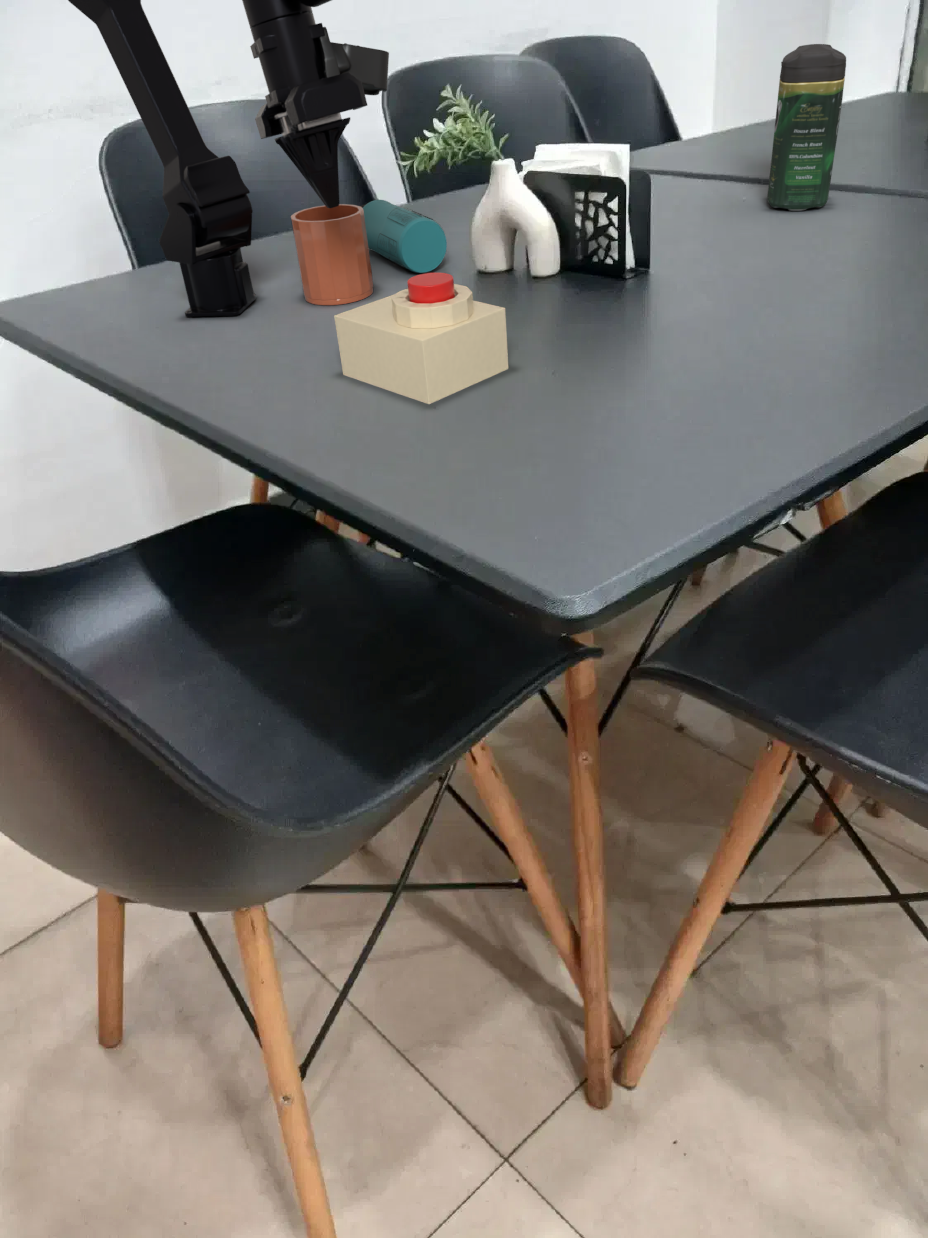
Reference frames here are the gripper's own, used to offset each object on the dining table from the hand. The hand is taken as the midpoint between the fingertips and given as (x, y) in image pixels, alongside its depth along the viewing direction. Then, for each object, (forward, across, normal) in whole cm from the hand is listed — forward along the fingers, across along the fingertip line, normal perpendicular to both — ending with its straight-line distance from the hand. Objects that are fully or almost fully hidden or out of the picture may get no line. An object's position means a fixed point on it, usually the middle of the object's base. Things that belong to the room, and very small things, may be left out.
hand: (333, 207), depth 93 cm
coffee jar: (+16, +18, -66) cm, 71 cm away
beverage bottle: (+8, +16, -14) cm, 23 cm away
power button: (+9, -14, -3) cm, 17 cm away
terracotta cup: (+10, +17, -2) cm, 20 cm away
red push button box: (+15, -11, -1) cm, 19 cm away
